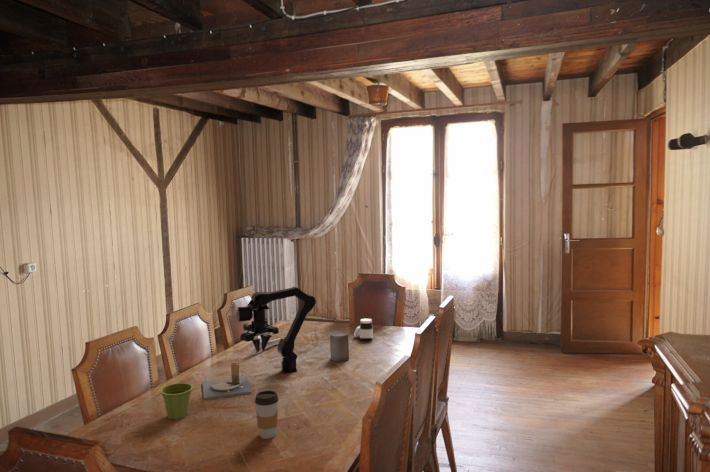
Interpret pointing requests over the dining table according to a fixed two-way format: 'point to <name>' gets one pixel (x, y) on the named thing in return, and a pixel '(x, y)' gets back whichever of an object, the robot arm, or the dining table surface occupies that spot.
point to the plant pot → (177, 399)
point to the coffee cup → (267, 413)
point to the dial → (228, 380)
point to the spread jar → (364, 330)
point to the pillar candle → (339, 346)
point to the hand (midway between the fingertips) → (260, 351)
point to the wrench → (270, 343)
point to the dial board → (213, 394)
